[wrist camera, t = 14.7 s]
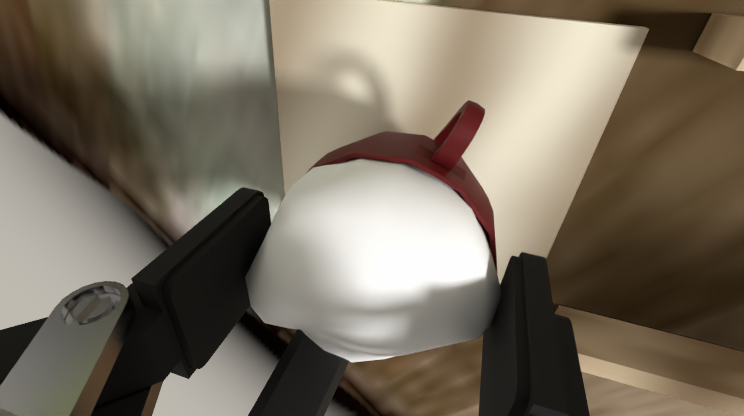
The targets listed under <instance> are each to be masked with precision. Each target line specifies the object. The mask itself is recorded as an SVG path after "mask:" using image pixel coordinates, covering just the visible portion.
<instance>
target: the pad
mask: <svg viewBox="0 0 744 416" xmlns="http://www.w3.org/2000/svg"><path fill="white" fill-rule="evenodd" d="M269 5H270V18H271V30H272V43H273V55H274V68H275V80H276V93H277V105H278V118H279V130H280V143H281V155H282V168H283V181H284V193H285V195H286V193H287V192H288V190H289V189H290V188H291V186H292V185H293V184H295V183H296V182H297V181H298V180H299V179H301V178H302V177H303V176H304V175H305V174H306V173H307V171H308V170H309V169H310V168H311V167H312V166H313V165H314V164H315V163H316V162H318V161H319V160H320V159H321V158H322V157H323V156H325V155H326V154H327V153H329V152H331V151H334V150H336V149H338V148H340V147H343V146H345V145H348V144H351V143H353V142H356V141H359V140H361V139H364V138H367V137H369V136H372V135H375V134H378V133H381V132H385V131H389V132H399V133H409V134H418V135H426V136H428V137H429V138H431V139H433V140H434V139H435V137H436V136H437V135H438V134H439V133H440V132H441V131H442V129H443V128H444V127H445V126H446V125H447V124H448V122H449V121H450V120H451V119H452V117H453V116H454V115H455V114H456V113H457V111H458V110H459V109H460V108H461V107H462V106H463V105H464V103H466V102H467V101H468V100H470V101H473V102H475V103H478V104H479V105H480V106H481V107H483V108H484V109H485V115H484V118H483V121H482V123H481V125H480V127H479V129H478V131H477V133H476V135H475V136H474V138H473V140H472V142H471V143H470V145H469V146H468V148H467V149H466V151H465V152H464V154H463V155H462V156H461V157H462V158H463V160H464V161H465V163H466V164H467V166H468V167H469V169H470V170H471V171H472V173H473V174H474V176H475V177H476V179H477V180H478V182H479V183H480V185H481V186H482V188H483V189H484V191H485V193H486V195H487V196H488V198H489V201H490V204H491V206H492V209H493V213H494V227H495V240H496V254H497V275H498V279H499V283H500V284H501V281H502V279H503V276H504V273H505V271H506V268H507V265H508V263H509V260H510V258H511V256H512V255H513V256H517V257H519V255H520V253H521V252H525V253H529V254H533V255H538V256H542V257H545V258H547V256H548V254H549V251H550V249H551V247H552V245H553V242H554V240H555V238H556V236H557V233H558V231H559V229H560V227H561V225H562V222H563V220H564V218H565V216H566V213H567V211H568V209H569V207H570V205H571V202H572V200H573V198H574V196H575V193H576V191H577V189H578V187H579V185H580V182H581V180H582V178H583V176H584V173H585V171H586V169H587V167H588V164H589V162H590V160H591V158H592V156H593V153H594V151H595V149H596V147H597V144H598V142H599V140H600V138H601V136H602V133H603V131H604V129H605V127H606V124H607V122H608V120H609V118H610V115H611V113H612V111H613V109H614V107H615V104H616V102H617V100H618V98H619V95H620V93H621V91H622V89H623V87H624V84H625V82H626V80H627V78H628V75H629V73H630V71H631V69H632V67H633V64H634V62H635V60H636V58H637V55H638V53H639V51H640V49H641V46H642V44H643V42H644V40H645V38H646V35H647V33H648V31H649V29H648V28H646V27H641V26H632V25H622V24H612V23H603V22H593V21H583V20H574V19H564V18H555V17H545V16H535V15H526V14H516V13H507V12H497V11H487V10H478V9H468V8H458V7H449V6H439V5H430V4H420V3H410V2H401V1H391V0H269Z"/></svg>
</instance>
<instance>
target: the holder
mask: <svg viewBox="0 0 744 416" xmlns="http://www.w3.org/2000/svg"><path fill="white" fill-rule="evenodd" d="M692 52H695V53H697V54H699V55H702V56H704V57H706V58H709V59H711V60H713V61H716V62H718V63H720V64H723V65H725V66H727V67H730V68H732V69H734V70H738V71H744V16H738V15H727V14H716V13H712V15H711V17H710V19H709V20H708V22H707V24H706V26H705V28H704V30H703V32H702V34H701V36H700V38H699V39H698V41H697V43H696V45H695V47H694V49H693V51H692ZM554 314H557V315H561V316H565V317H568V318H569V319H570V320H571V323H572V326H573V331H574V337H575V342H576V347H577V352H578V358H579V363H580V368H581V371H582V372H586V373H589V374H593V375H596V376H600V377H603V378H607V379H610V380H614V381H617V382H621V383H624V384H628V385H632V386H635V387H639V388H642V389H646V390H649V391H653V392H656V393H660V394H663V395H667V396H670V397H674V398H677V399H681V400H684V401H688V402H691V403H695V404H698V405H702V406H705V407H709V408H712V409H716V410H719V411H723V412H726V413H730V414H733V415H737V416H744V352H742V351H738V350H734V349H730V348H726V347H722V346H718V345H714V344H711V343H707V342H703V341H699V340H695V339H691V338H687V337H683V336H679V335H675V334H671V333H667V332H663V331H659V330H655V329H652V328H648V327H644V326H640V325H636V324H632V323H628V322H624V321H620V320H616V319H612V318H608V317H604V316H600V315H596V314H592V313H589V312H585V311H581V310H577V309H573V308H569V307H565V306H561V305H559V306H558V308H557V310H556V312H555V313H554Z"/></svg>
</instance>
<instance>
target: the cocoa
mask: <svg viewBox="0 0 744 416" xmlns="http://www.w3.org/2000/svg"><path fill="white" fill-rule="evenodd" d="M484 115H485V109H484V108H483V107H481V106H480V105H479V104H478V103H475V102H473V101H470V100H468V101H467V102H466V103H464V105H463V106H462V107H461V108H460V109H459V110H458V111H457V113H456V114H455V115H454V116H453V117H452V119H451V120H450V121H449V122H448V124H447V125H446V126H445V127H444V128H443V129H442V131H441V132H440V133H439V134H438V135H437V136H436V137H435V139H434V140H433V139H431V138H429V137H428V136H426V135H418V134H409V133H399V132H389V131H385V132H381V133H378V134H375V135H372V136H369V137H367V138H364V139H361V140H359V141H356V142H353V143H351V144H348V145H345V146H343V147H340V148H338V149H336V150H334V151H331V152H329V153H327V154H326V155H325V156H323V157H322V158H321V159H320V160H319V161H318V162H316V163H315V164H314V165H313V166H312V167H311V168H310V169H309V170H308V171H307V173H306V174H305V175H304V176H303V177H302V178H301V179H299V180H298V181H297V182H296V183H295V184H293V185H292V186H291V188H290V189H289V190H288V192H287V193H286V195H285V197H284V199H283V201H282V203H281V205H280V207H279V209H278V211H277V213H276V214H275V217H274V219H273V221H272V223H271V226H270V228H269V230H268V232H267V234H266V237H265V239H264V241H263V243H262V245H261V247H260V249H259V251H258V253H257V255H256V257H255V259H254V261H253V263H252V265H251V267H250V269H249V271H248V273H247V275H246V277H245V279H246V284H247V289H248V294H249V300H250V305H251V307H252V308H253V310H254V311H255V312H256V313H257V314H258V316H259V317H260V318H261V319H262V320H263V321H264V323H267V324H272V325H277V326H282V327H286V328H292V329H297V331H296V332H295V334H294V336H293V338H292V339H291V341H290V343H289V345H288V346H287V348H286V350H285V352H284V354H283V355H282V357H281V359H280V361H279V362H278V364H277V366H276V368H275V369H274V371H273V373H272V375H271V377H270V378H269V380H268V382H267V383H266V385H265V387H264V389H263V390H262V392H261V394H260V396H259V397H258V399H257V401H256V403H255V405H254V406H253V408H252V410H251V411H250V413H249V415H248V416H324V414H325V412H326V410H327V408H328V406H329V404H330V402H331V399H332V397H333V395H334V393H335V391H336V388H337V386H338V384H339V382H340V380H341V378H342V375H343V373H344V371H345V369H346V367H347V365H348V362H349V361H350V362H360V361H369V360H379V359H387V358H391V357H394V356H402V355H407V354H411V353H416V352H420V351H424V350H429V349H433V348H438V347H442V346H446V345H451V344H455V343H460V342H464V341H469V340H473V339H478V338H479V337H480V336H481V335H482V334H483V333H484V332H485V331H486V330H487V329H488V328H489V327H490V326H491V324H492V322H493V319H494V316H495V313H496V311H497V308H498V305H499V303H500V300H501V296H502V290H501V287H500V283H499V279H498V275H497V254H496V240H495V227H494V213H493V209H492V206H491V204H490V201H489V198H488V196H487V195H486V193H485V191H484V189H483V188H482V186H481V185H480V183H479V182H478V180H477V179H476V177H475V176H474V174H473V173H472V171H471V170H470V169H469V167H468V166H467V164H466V163H465V161H464V160H463V158H462V157H461V156H462V155H463V154H464V152H465V151H466V149H467V148H468V146H469V145H470V143H471V142H472V140H473V138H474V136H475V135H476V133H477V131H478V129H479V127H480V125H481V123H482V121H483V118H484Z"/></svg>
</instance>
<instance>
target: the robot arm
mask: <svg viewBox="0 0 744 416" xmlns="http://www.w3.org/2000/svg"><path fill="white" fill-rule="evenodd" d="M270 226H271V220H270V211H269V202H268V199H267V198H266V197H264V194H263V193H262V192H261V191H257V190H253V189H249V188H240V189H239V190H237V191H236V192H235V193H234V194H233V195H231V196H230V197H229V198H228V199H227V200H225V201H224V202H223V203H222V204H221V205H219V206H218V207H217V208H216V209H215V210H213V211H212V212H211V213H210V214H209V215H207V216H206V217H205V218H204V219H203V220H201V221H200V222H199V223H198V224H197V225H195V226H194V227H193V228H192V229H190V230H189V231H188V232H187V233H186V234H184V235H183V236H182V237H181V238H180V239H178V240H177V241H176V242H175V243H174V244H172V245H171V246H170V247H169V248H168V249H166V250H165V251H164V252H163V253H162V254H160V255H159V256H158V257H157V258H156V259H155V260H153V261H152V262H151V263H150V264H148V265H147V266H146V267H145V268H144V269H142V270H141V271H140V272H139V273H138V274H136V275H135V276H134V277H133V278H132V281H133V283H132V284H131V285H130V286H128V287H127V288H126V287H125V286H124V285H123V284H120V283H117V282H111V281H104V282H97V283H93V284H90V285H87V286H84V287H82V288H80V289H78V290H76V291H74V292H72V293H70V294H69V295H68V296H66V297H65V298H64V299H62V300H61V301H60V303H59V304H58V305H57V306H56V307H55V308H54V310H53V311H52V313H51V314H50V315H49V317H46V318H43V319H39V320H36V321H32V322H28V323H25V324H21V325H17V326H14V327H10V328H6V329H3V330H0V416H152V414H153V410H154V408H155V404H156V401H157V398H158V395H159V392H160V389H161V386H162V383H163V381H164V379H165V378H166V377H167V376H168V375H169V373H170V372H171V373H174V374H177V375H179V376H182V377H185V378H188V379H189V378H190V377H191V375H192V374H193V373H194V371H195V370H196V369H200V368H202V367H203V366H204V365H205V364H206V363H207V362H208V361H209V359H210V358H211V356H212V355H213V354H214V353H215V351H216V350H217V349H218V347H219V346H220V345H221V343H222V342H223V341H224V339H225V338H226V337H227V335H228V334H229V333H230V331H231V330H232V329H233V327H234V326H235V325H236V323H237V322H238V321H239V319H240V318H241V317H242V315H243V314H244V313H245V311H246V310H247V309H248V308H249V306H250V300H249V294H248V289H247V284H246V279H245V277H246V275H247V273H248V271H249V269H250V267H251V265H252V263H253V261H254V259H255V257H256V255H257V253H258V251H259V249H260V247H261V245H262V243H263V241H264V239H265V237H266V234H267V232H268V230H269V228H270ZM500 287H501V290H502V296H501V300H500V303H499V305H498V308H497V311H496V313H495V316H494V319H493V322H492V324H491V326H490V327H489V328H488V329H487V330H486V331H485V332H484V335H483V351H482V368H481V386H480V403H479V416H590V415H589V410H588V405H587V399H586V394H585V389H584V384H583V378H582V373H581V368H580V363H579V358H578V352H577V347H576V342H575V337H574V331H573V326H572V323H571V320H570V319H569V318H568V317H565V316H561V315H557V314H554V309H553V303H552V296H551V289H550V282H549V275H548V268H547V261H546V258H545V257H542V256H538V255H533V254H529V253H525V252H521V253H520V255H519V257H517V256H513V255H512V256H511V258H510V260H509V263H508V265H507V268H506V271H505V273H504V276H503V279H502V281H501V284H500Z"/></svg>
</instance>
